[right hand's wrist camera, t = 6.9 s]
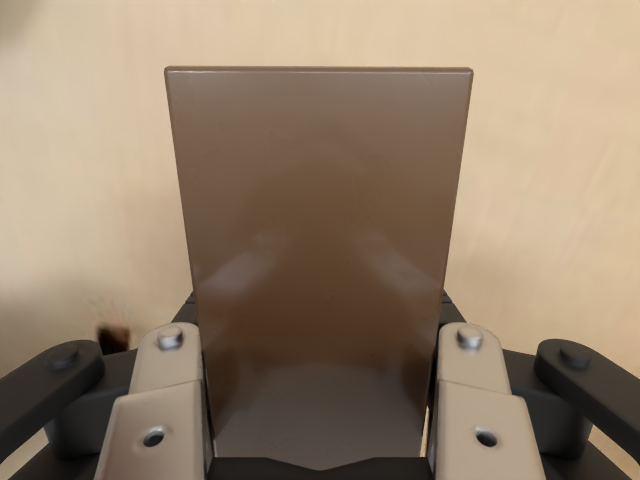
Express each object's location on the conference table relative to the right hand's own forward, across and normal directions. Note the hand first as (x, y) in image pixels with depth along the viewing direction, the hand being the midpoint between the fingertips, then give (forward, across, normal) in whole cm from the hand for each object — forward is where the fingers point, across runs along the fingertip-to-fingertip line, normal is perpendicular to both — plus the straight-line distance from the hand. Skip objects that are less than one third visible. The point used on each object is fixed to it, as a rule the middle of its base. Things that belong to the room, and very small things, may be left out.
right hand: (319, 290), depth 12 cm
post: (+2, 0, -28) cm, 28 cm away
